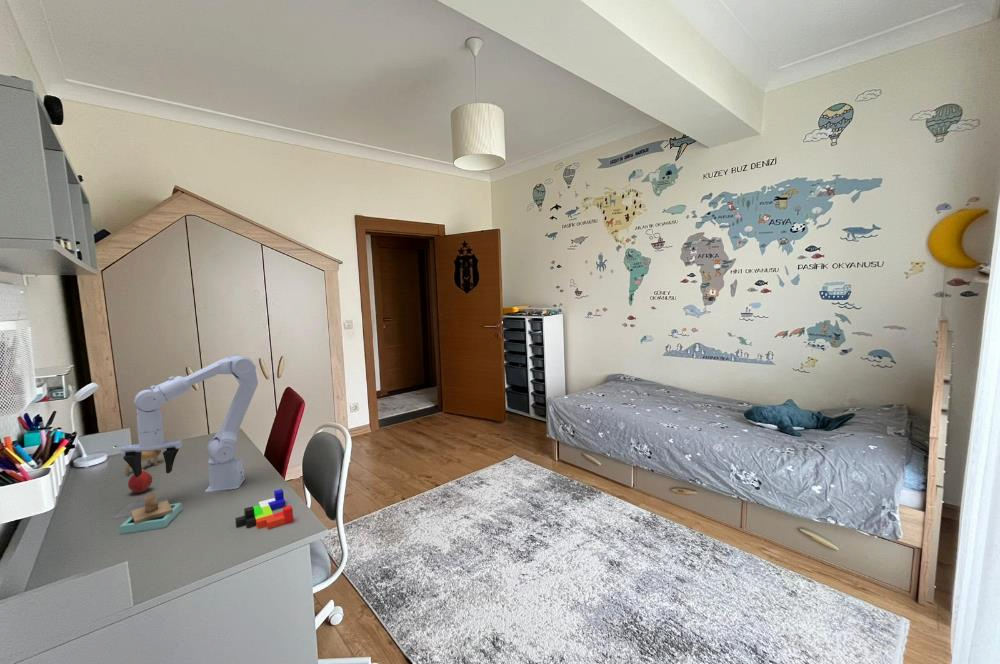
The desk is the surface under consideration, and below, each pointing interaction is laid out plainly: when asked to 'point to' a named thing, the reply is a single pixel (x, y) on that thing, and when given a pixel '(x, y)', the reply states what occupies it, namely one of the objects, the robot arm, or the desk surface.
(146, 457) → the lion figurine
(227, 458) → the robot arm
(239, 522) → the building blocks
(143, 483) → the pomegranate
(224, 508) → the desk surface
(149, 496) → the lid
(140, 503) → the mat
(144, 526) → the dish
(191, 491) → the desk surface
